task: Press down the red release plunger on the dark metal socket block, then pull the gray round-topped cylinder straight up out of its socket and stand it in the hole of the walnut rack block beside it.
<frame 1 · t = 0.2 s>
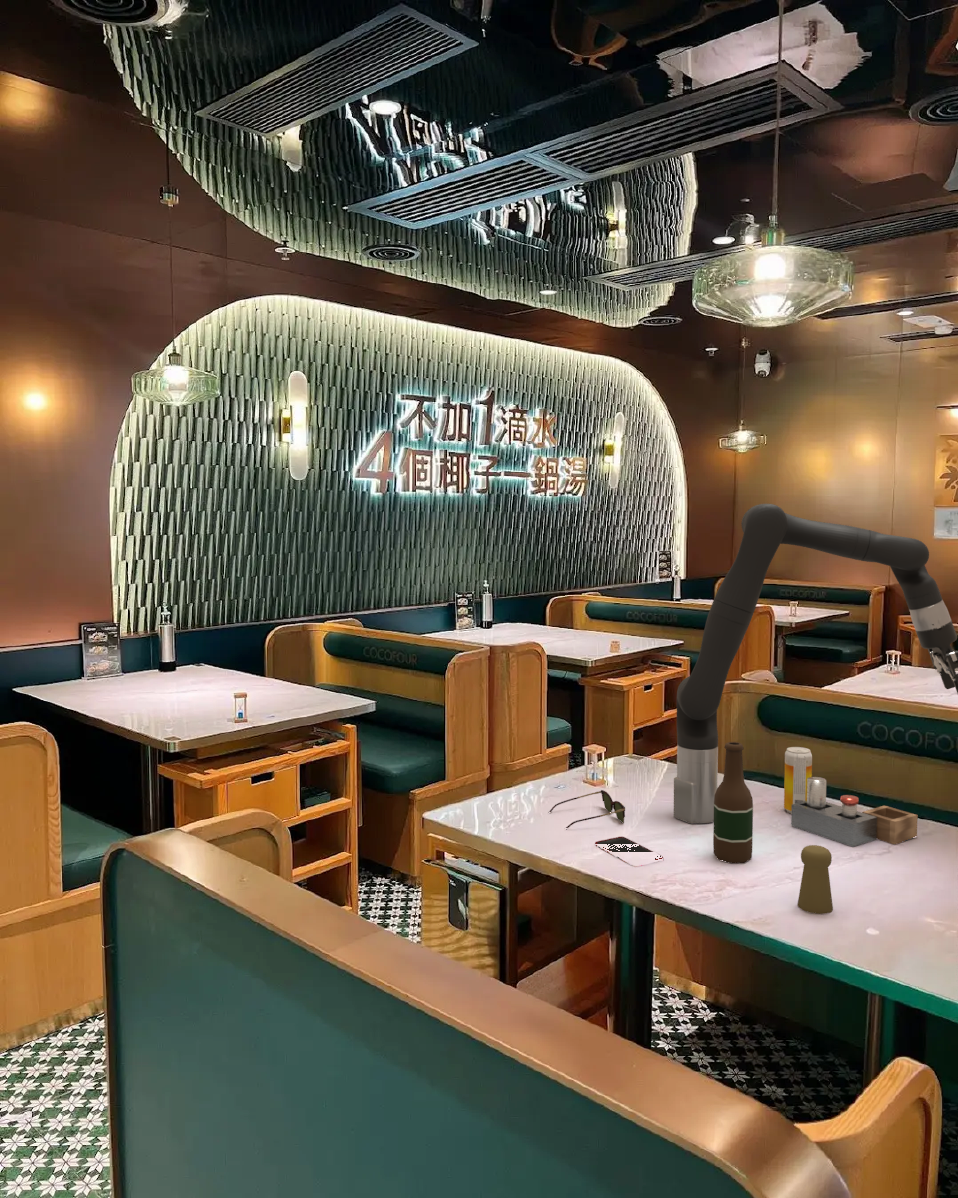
hand: (957, 691, 203), 31 cm above the table, tool tilted 20°, fingers open, 8 cm apart
rack: (889, 835, 200), on the table
beer bottle: (732, 858, 189), on the table
socket block: (832, 832, 203), on the table
plunger: (849, 811, 199), point 6 cm above the table, slide at 0.0 cm
beer can: (797, 812, 217), on the table
cell phone: (628, 855, 192), on the table
sunglasses: (585, 821, 214), on the table
gray round-topped cylinder: (815, 827, 206), resting in socket block
olive knobbed peg: (815, 908, 165), on the table
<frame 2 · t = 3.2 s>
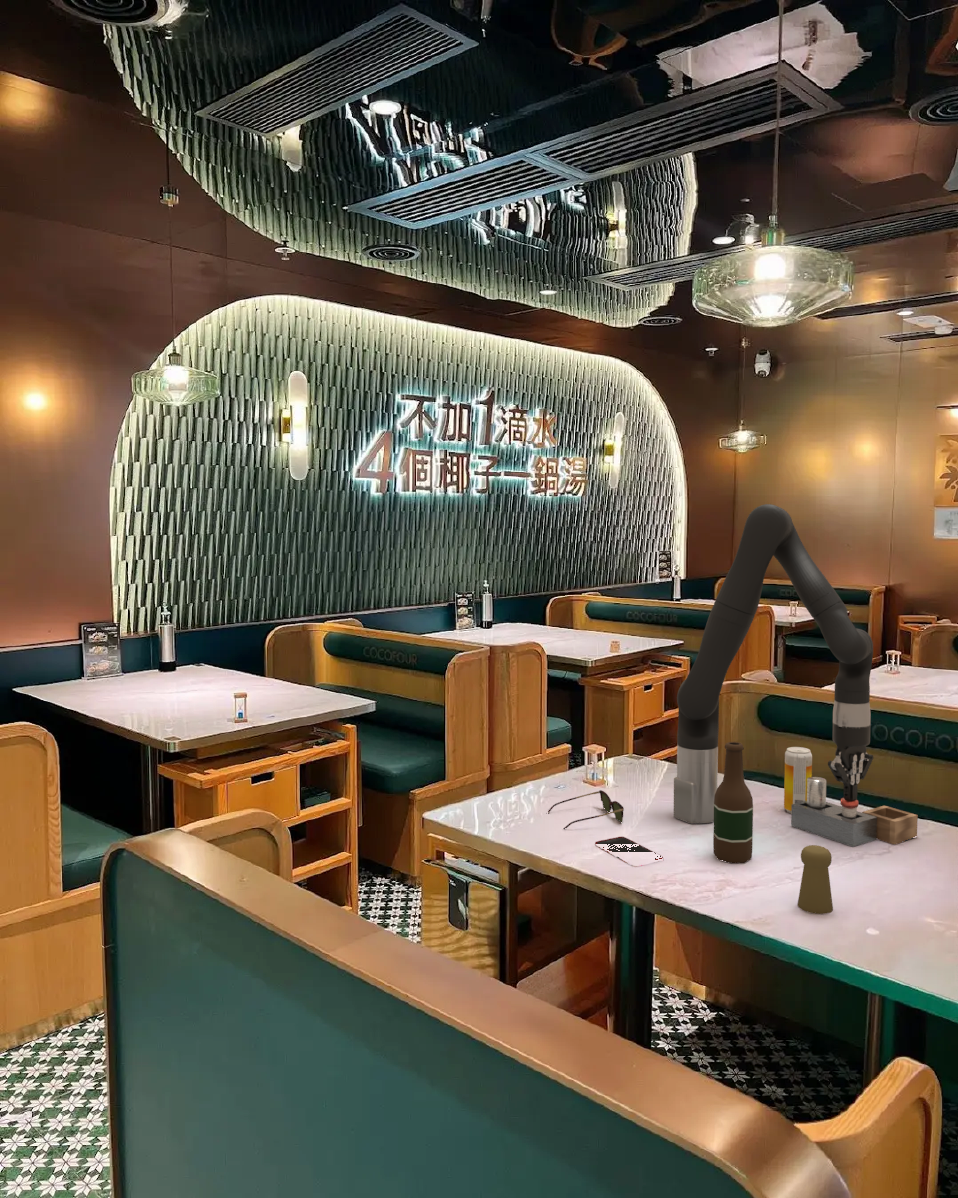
hand: (850, 800, 199), 8 cm above the table, tool pointing down, fingers closed
plunger: (849, 813, 199), point 5 cm above the table, slide at 0.6 cm, touching gripper
everything else where it was.
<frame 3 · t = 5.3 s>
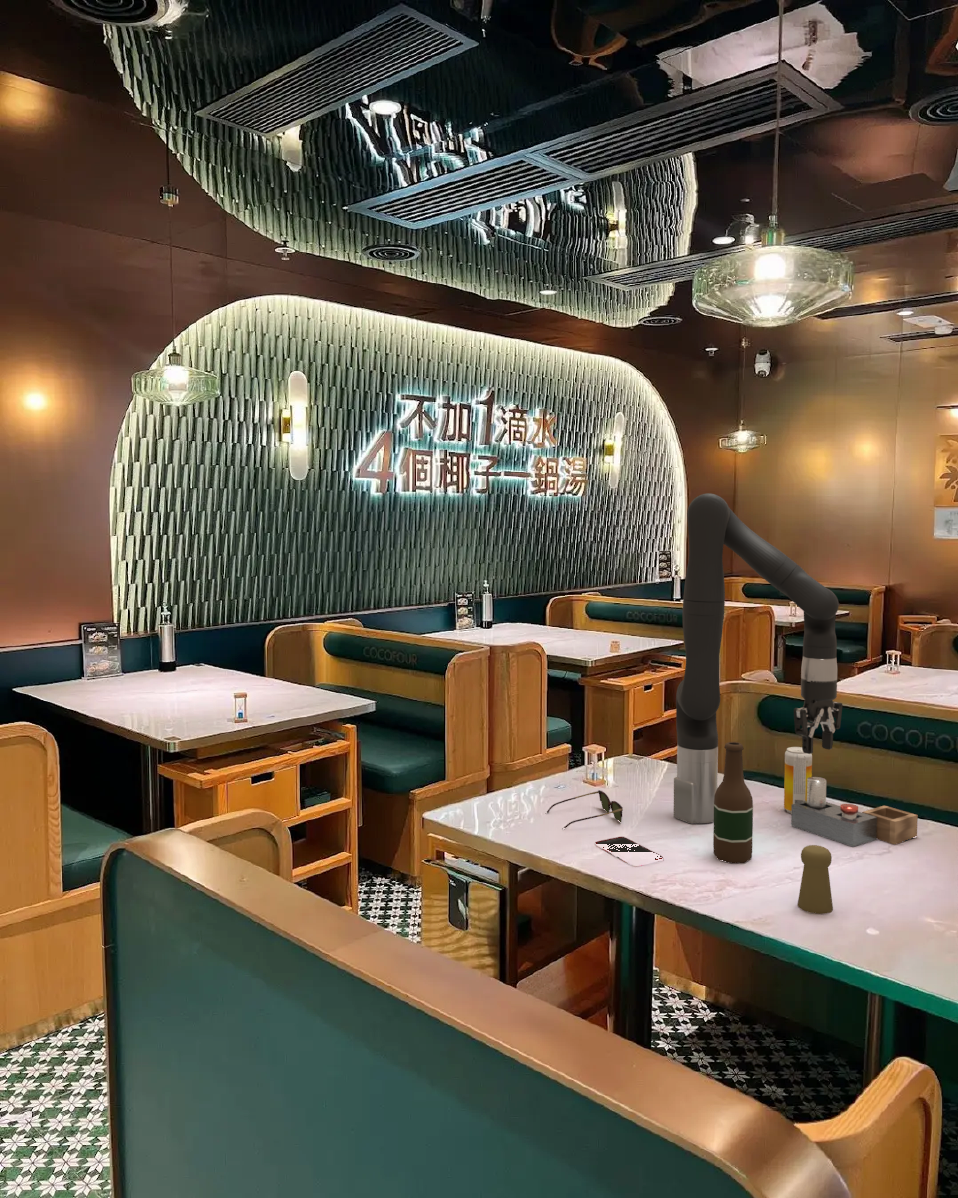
hand: (817, 750, 205), 18 cm above the table, tool pointing down, fingers open, 6 cm apart
plunger: (848, 819, 199), point 4 cm above the table, slide at 1.9 cm
everything else where it was.
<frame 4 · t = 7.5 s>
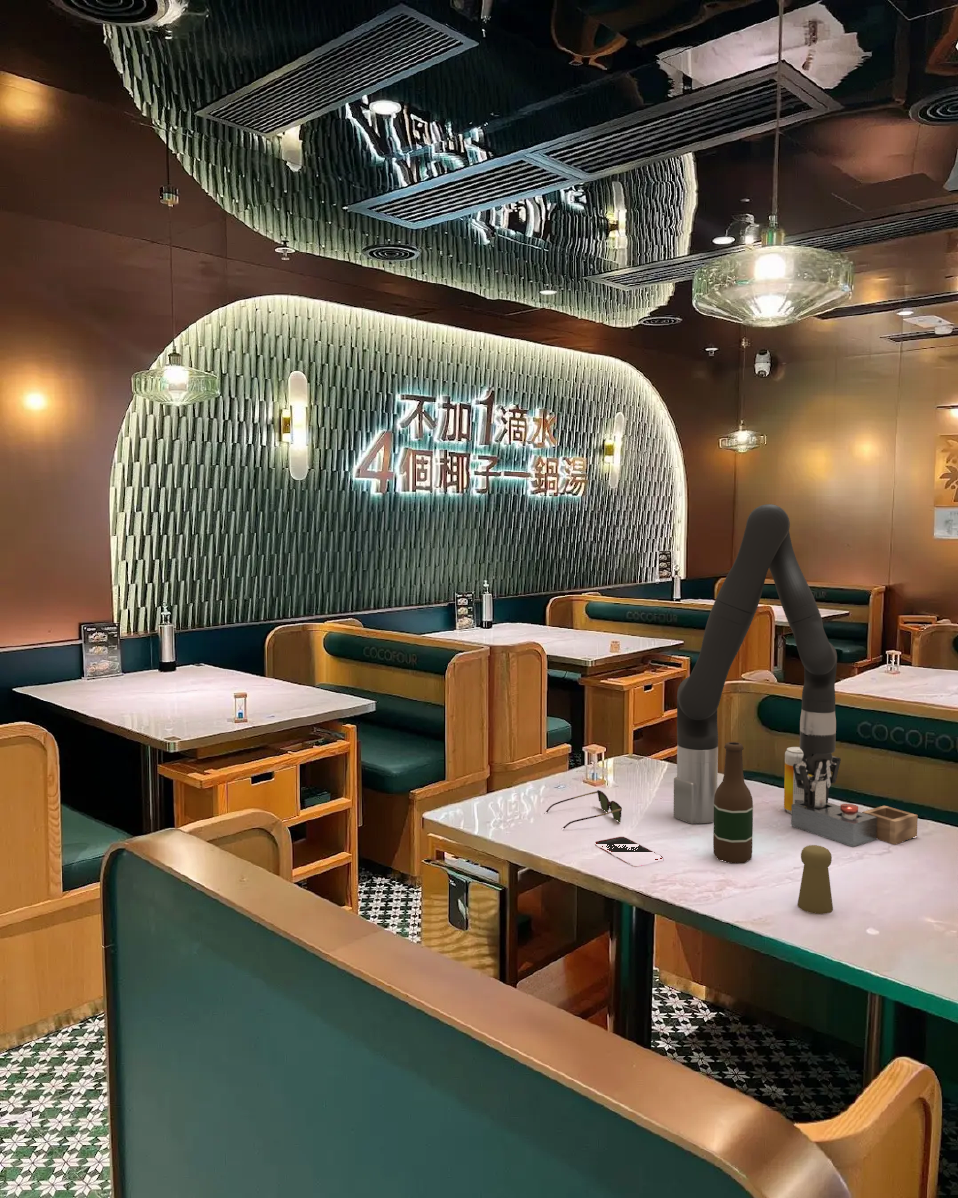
hand: (816, 804, 206), 5 cm above the table, tool pointing down, fingers closed on gray round-topped cylinder, 4 cm apart
gray round-topped cylinder: (815, 827, 206), resting in socket block, touching gripper
everything else where it was.
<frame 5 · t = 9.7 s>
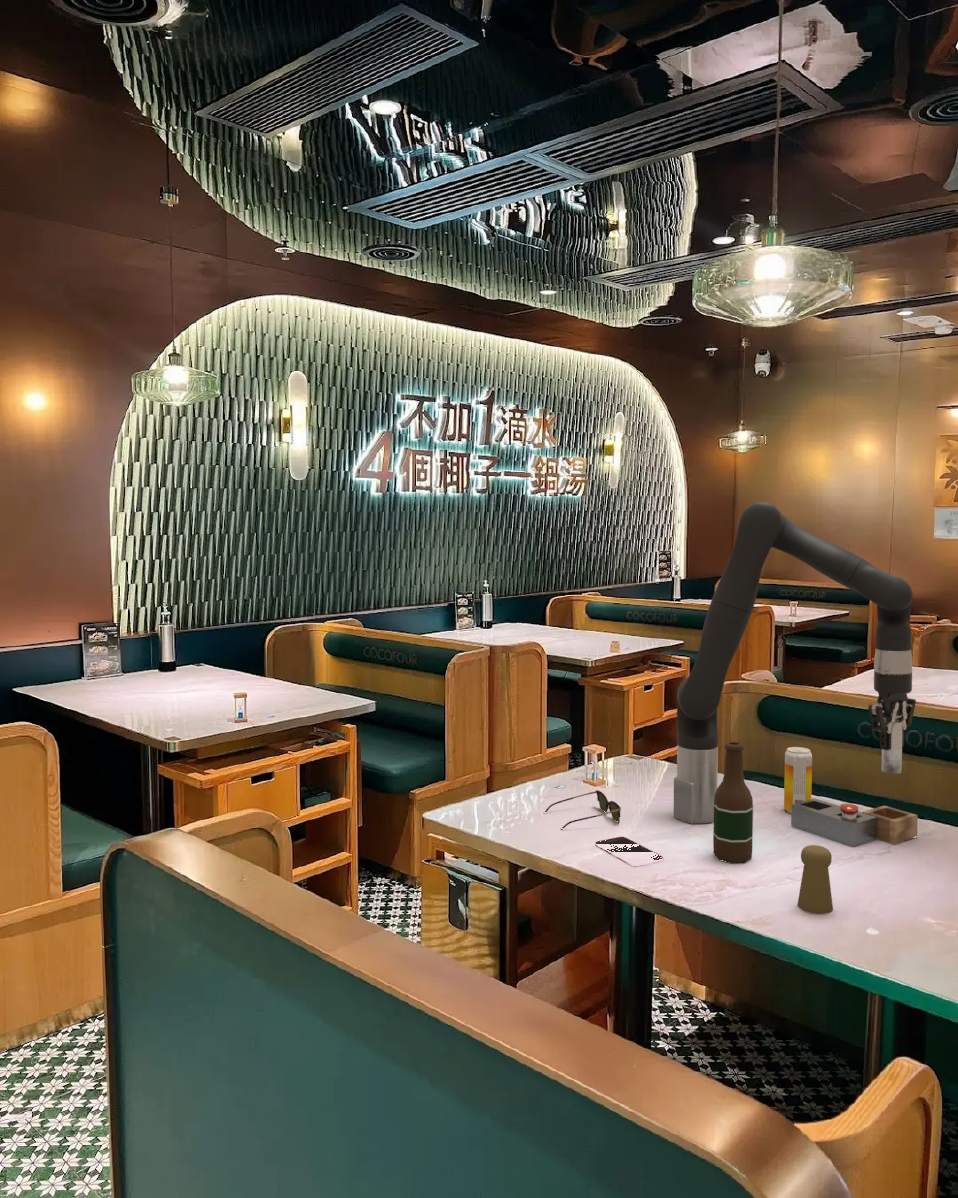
hand: (891, 747, 199), 20 cm above the table, tool pointing down, fingers closed on gray round-topped cylinder, 4 cm apart
gray round-topped cylinder: (891, 771, 199), point 14 cm above the table, touching gripper
when the fingers open (7 cm above the table, at t = 12.4 s): gray round-topped cylinder drops 1 cm, resting in rack.
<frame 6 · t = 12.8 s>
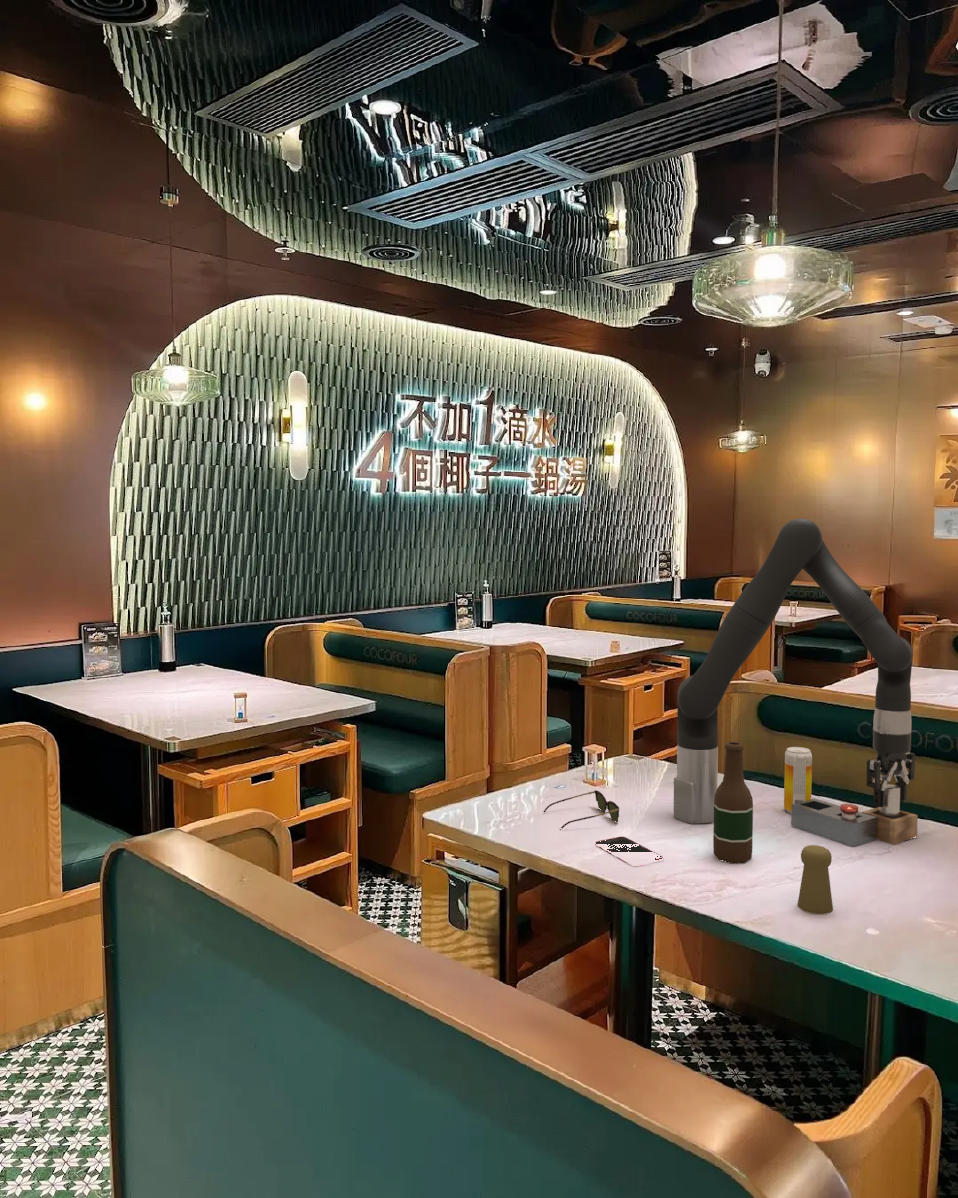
hand: (889, 803, 200), 7 cm above the table, tool pointing down, fingers open, 7 cm apart
gray round-topped cylinder: (888, 835, 200), resting in rack
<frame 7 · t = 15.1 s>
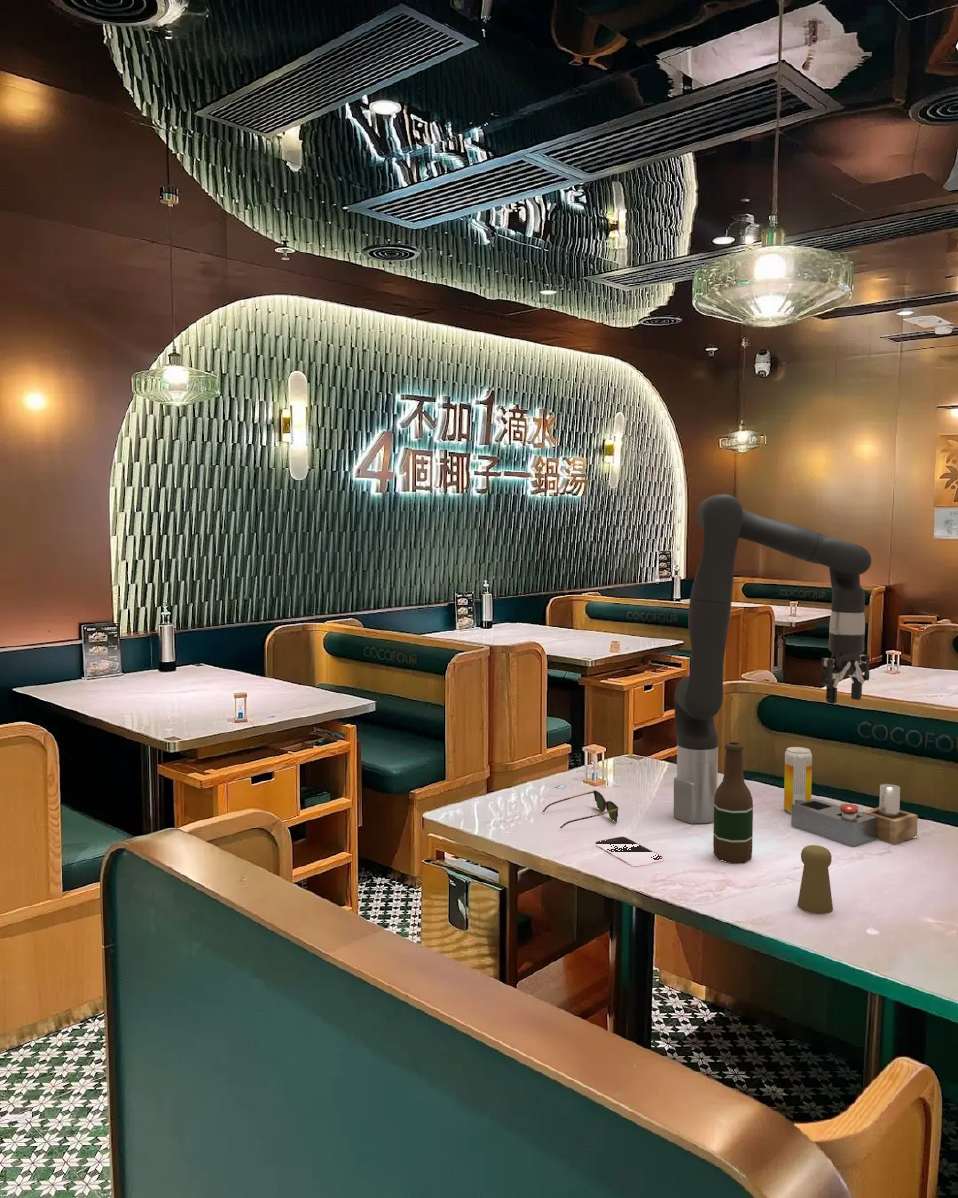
hand: (843, 701, 211), 27 cm above the table, tool pointing down, fingers open, 8 cm apart
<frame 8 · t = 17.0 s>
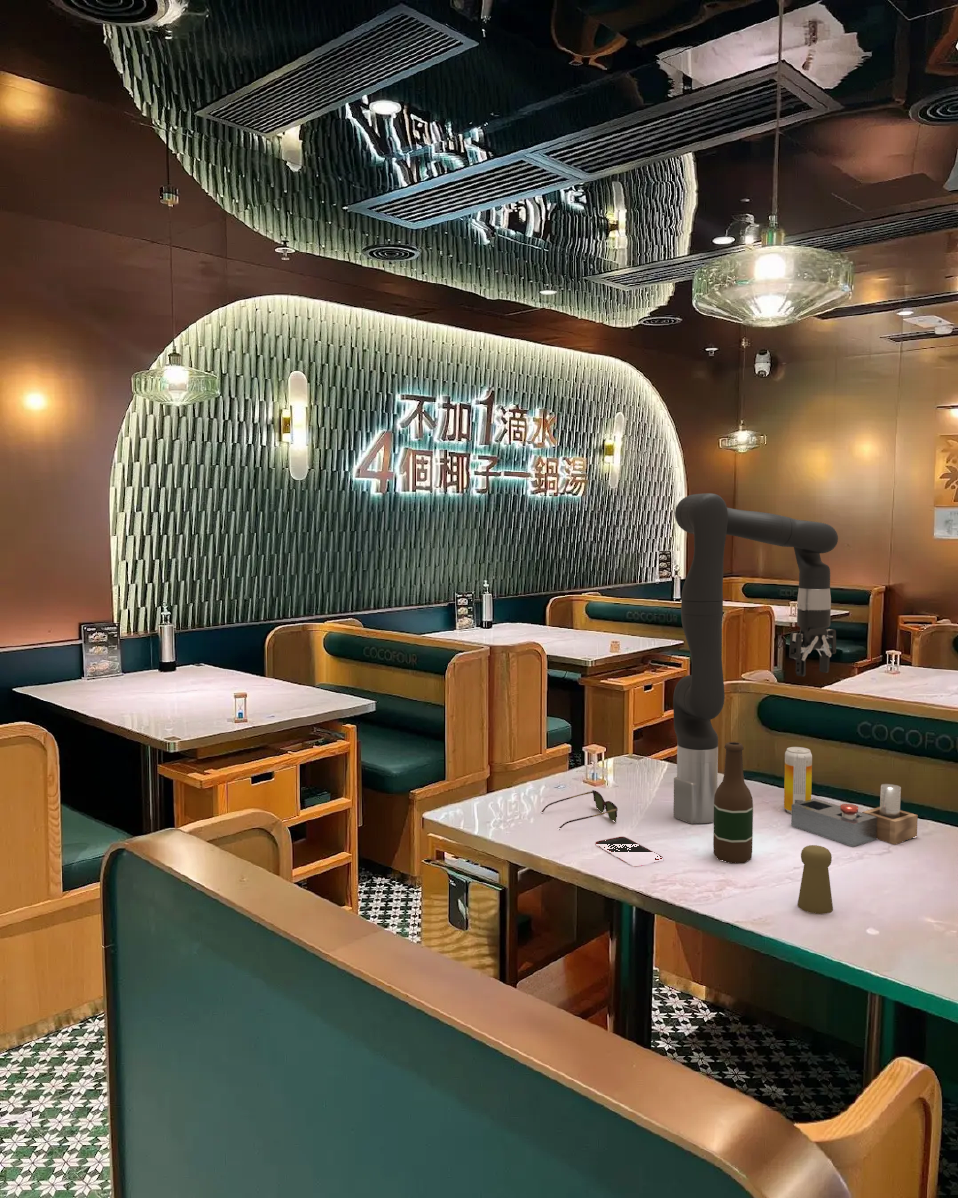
hand: (812, 674, 220), 32 cm above the table, tool pointing down, fingers open, 8 cm apart
at the end: plunger slide at 1.9 cm; gray round-topped cylinder 0.1 cm off-centre on the rack, point 0.0 cm above the rack's base; gray round-topped cylinder tilted 1° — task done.
